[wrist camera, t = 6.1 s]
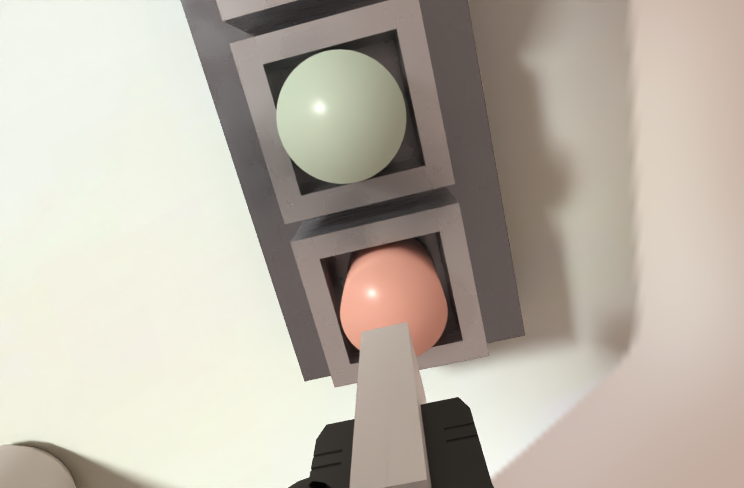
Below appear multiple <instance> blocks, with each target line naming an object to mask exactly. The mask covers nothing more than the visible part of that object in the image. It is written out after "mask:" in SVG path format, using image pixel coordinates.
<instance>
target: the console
mask: <svg viewBox="0 0 744 488" xmlns="http://www.w3.org/2000/svg"><path fill="white" fill-rule="evenodd" d="M181 3H182V6H183V9H184V12H185V15H186V18H187V21H188V24H189V27H190V30H191V33H192V37H193V40H194V43H195V46H196V49H197V52H198V55H199V58H200V61H201V64H202V67H203V70H204V73H205V77H206V80H207V83H208V86H209V89H210V92H211V95H212V98H213V101H214V104H215V107H216V110H217V113H218V116H219V120H220V123H221V126H222V129H223V132H224V135H225V138H226V141H227V144H228V147H229V150H230V153H231V156H232V160H233V163H234V166H235V169H236V172H237V175H238V178H239V181H240V184H241V187H242V190H243V193H244V196H245V200H246V203H247V206H248V209H249V212H250V215H251V218H252V221H253V224H254V227H255V230H256V233H257V236H258V239H259V243H260V246H261V249H262V252H263V255H264V258H265V261H266V264H267V267H268V270H269V273H270V276H271V279H272V283H273V286H274V289H275V292H276V295H277V298H278V301H279V304H280V307H281V310H282V313H283V316H284V319H285V322H286V326H287V329H288V332H289V335H290V338H291V341H292V344H293V347H294V350H295V353H296V356H297V359H298V362H299V366H300V369H301V372H302V375H303V378H304V381H308V380H313V379H318V378H323V377H327V376H331V377H332V380H333V384H334V387H340V386H344V385H349V384H354V383H357V382H358V369H359V356H360V350H359V349H357V348H356V347H355V346H354V345H353V344H352V343H351V342H350V340H349V339H348V337H347V336H346V334H345V332H344V330H343V327H342V324H341V319H340V306H341V301H342V296H343V290H344V285H345V280H346V275H347V270H348V265H349V262H350V259H351V257H352V255H353V253H354V252H355V251H356V250H361V249H365V248H369V247H374V246H378V245H383V244H387V243H391V242H396V241H400V240H404V239H409V238H414V239H416V240H417V241H419V242H420V243H421V244H422V245H424V246H425V248H426V249H427V250H428V251H429V253H430V255H431V256H432V259H433V261H434V264H435V267H436V270H437V273H438V277H439V280H440V283H441V286H442V289H443V292H444V295H445V298H446V302H447V308H448V316H447V322H446V326H445V329H444V331H443V333H442V335H441V336H440V338H439V340H438V341H437V342H436V343H435V344H434V345H433V346H432V347H431V348H430V349H429V350H427V351H426V352H425V353H423V354H421V355H419V356H417V357H416V359H417V363H418V368H419V370H422V369H427V368H432V367H437V366H442V365H446V364H451V363H456V362H461V361H466V360H471V359H475V358H480V357H485V356H489V352H488V347H487V343H491V342H495V341H500V340H505V339H510V338H515V337H519V336H524V335H525V333H524V327H523V321H522V316H521V310H520V304H519V298H518V292H517V286H516V281H515V275H514V269H513V263H512V257H511V252H510V246H509V240H508V234H507V228H506V223H505V217H504V211H503V205H502V199H501V193H500V188H499V182H498V176H497V170H496V164H495V159H494V153H493V147H492V141H491V135H490V130H489V124H488V118H487V112H486V106H485V100H484V95H483V89H482V83H481V77H480V71H479V66H478V60H477V54H476V48H475V42H474V37H473V31H472V25H471V19H470V13H469V7H468V2H467V0H181ZM339 49H342V50H351V51H356V52H360V53H362V54H365V55H367V56H369V57H371V58H373V59H375V60H376V61H377V62H379V63H380V64H381V65H383V66H384V67H385V68H386V69H387V70H388V71H389V72H390V74H391V75H392V76H393V78H394V79H395V81H396V82H397V84H398V86H399V88H400V90H401V93H402V95H403V99H404V102H405V108H406V129H405V133H404V138H403V140H402V143H401V146H400V148H399V150H398V151H397V153H396V155H395V156H394V158H393V159H392V160H391V161H390V163H389V164H388V165H387V166H386V167H385V168H383V169H382V170H381V171H380V172H378V173H377V174H375V175H374V176H372V177H370V178H368V179H365V180H362V181H359V182H355V183H349V184H337V183H330V182H326V181H323V180H320V179H317V178H315V177H313V176H311V175H309V174H308V173H306V172H305V171H303V170H302V169H301V168H300V167H299V166H298V165H297V164H296V163H295V162H294V161H293V160H292V159H291V158H290V156H289V155H288V153H287V152H286V150H285V148H284V146H283V144H282V142H281V139H280V136H279V132H278V128H277V120H276V111H277V103H278V98H279V95H280V92H281V89H282V87H283V85H284V83H285V81H286V80H287V78H288V76H289V75H290V74H291V73H292V71H293V70H294V69H295V68H296V67H297V66H298V65H299V64H300V63H302V62H303V61H305V60H306V59H308V58H309V57H311V56H313V55H315V54H318V53H321V52H324V51H329V50H339Z"/></svg>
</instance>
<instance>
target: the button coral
mask: <svg viewBox="0 0 744 488" xmlns="http://www.w3.org/2000/svg"><path fill="white" fill-rule="evenodd" d="M447 316H448V308H447V302H446V298H445V295H444V292H443V289H442V286H441V283H440V280H439V277H438V273H437V270H436V267H435V264H434V261H433V259H432V256H431V255H430V253H429V251H428V250H427V249H426V248H425V246H424V245H422V244H421V243H420V242H419V241H417V240H416V239H414V238H409V239H404V240H400V241H396V242H391V243H387V244H383V245H378V246H374V247H369V248H365V249H361V250H356V251H355V252H354V253H353V255H352V257H351V259H350V262H349V265H348V270H347V275H346V280H345V285H344V290H343V296H342V301H341V306H340V319H341V324H342V327H343V330H344V332H345V334H346V336H347V337H348V339H349V340H350V342H351V343H352V344H353V345H354V346H355V347H356V348H357V349H359V350H360V343H361V332H363V331H368V330H372V329H377V328H382V327H387V326H391V325H396V324H401V323H405V322H408V327H409V331H410V335H411V339H412V343H413V347H414V351H415V355H416V357H417V356H419V355H421V354H423V353H425V352H426V351H427V350H429V349H430V348H431V347H432V346H433V345H434V344H435V343H436V342H437V341H438V340H439V338H440V336H441V335H442V333H443V331H444V329H445V326H446V322H447Z"/></svg>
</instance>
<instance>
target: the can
mask: <svg viewBox="0 0 744 488" xmlns="http://www.w3.org/2000/svg"><path fill="white" fill-rule="evenodd" d="M0 488H76V486H75V484H74V480H73V478H72V476H71V474H70V471H69V470H68V469H67V468H66V467H65V465H64V464H63V463H62V462H61V461H60V460H59V459H57V458H56V457H54V456H53V455H51V454H50V453H48V452H46V451H43V450H41V449H38V448H35V447H29V446H21V445H20V446H16V445H1V446H0Z"/></svg>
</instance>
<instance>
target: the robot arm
mask: <svg viewBox="0 0 744 488" xmlns="http://www.w3.org/2000/svg"><path fill="white" fill-rule="evenodd" d="M311 469H312V471H311V472H310V477H309V478H306V479H303V480H301V481H298V482H296V483H295V484H293V485H292V486H290V487H289V488H494V487H493V485H492V483H491V479H490V476H489V472H488V469H487V465H486V462H485V458H484V455H483V452H482V448H481V445H480V441H479V438H478V434H477V431H476V428H475V424H474V421H473V417H472V414H471V410H470V408H469V407H468V406H467V405H466V404H465V403H464V402H463V401H462V400H461V399H460V398H459V397H457V398H452V399H447V400H442V401H437V402H431V403H426V397H425V392H424V388H423V384H422V380H421V376H420V372H419V368H418V363H417V359H416V355H415V351H414V347H413V343H412V339H411V335H410V331H409V327H408V322H405V323H401V324H396V325H391V326H387V327H382V328H377V329H372V330H368V331H363V332H361V343H360V356H359V369H358V382H357V396H356V409H355V419H353V420H348V421H343V422H338V423H333V424H328V425H326V426H325V428H324V429H323V431H322V432H321V434H320V435H319V437H318V438H317V439H316V445H315V450H314V458H313V461H312V466H311Z"/></svg>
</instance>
